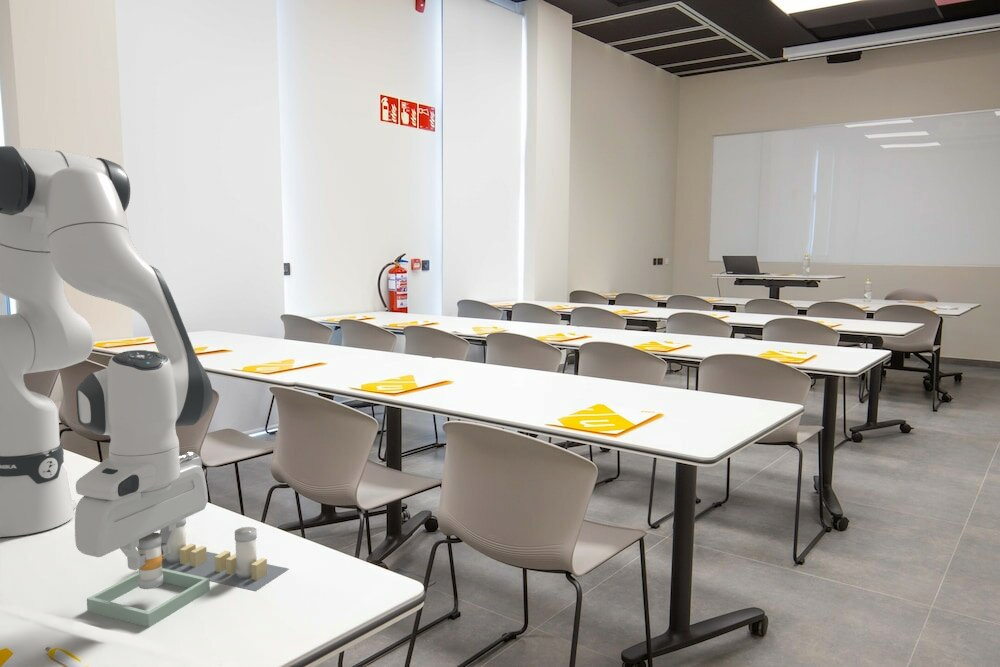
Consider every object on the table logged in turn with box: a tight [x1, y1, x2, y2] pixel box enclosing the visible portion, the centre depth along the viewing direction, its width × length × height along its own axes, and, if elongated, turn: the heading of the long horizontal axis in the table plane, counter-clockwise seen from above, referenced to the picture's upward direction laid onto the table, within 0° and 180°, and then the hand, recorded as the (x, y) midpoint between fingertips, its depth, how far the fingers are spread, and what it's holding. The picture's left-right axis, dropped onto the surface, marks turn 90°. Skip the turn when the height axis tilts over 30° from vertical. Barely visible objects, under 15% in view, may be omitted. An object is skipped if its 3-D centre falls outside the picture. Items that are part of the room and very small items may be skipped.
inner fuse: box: [165, 518, 187, 563], centre depth 116 cm, size 3×3×7 cm
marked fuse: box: [136, 532, 164, 590], centre depth 103 cm, size 3×3×7 cm
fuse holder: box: [162, 543, 290, 592], centre depth 114 cm, size 24×8×4 cm, turn 70°
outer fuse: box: [234, 526, 258, 578], centre depth 112 cm, size 3×3×7 cm
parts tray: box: [86, 568, 211, 628], centre depth 103 cm, size 11×11×3 cm
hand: (149, 561), depth 103 cm, fingers closed on marked fuse, 3 cm apart
